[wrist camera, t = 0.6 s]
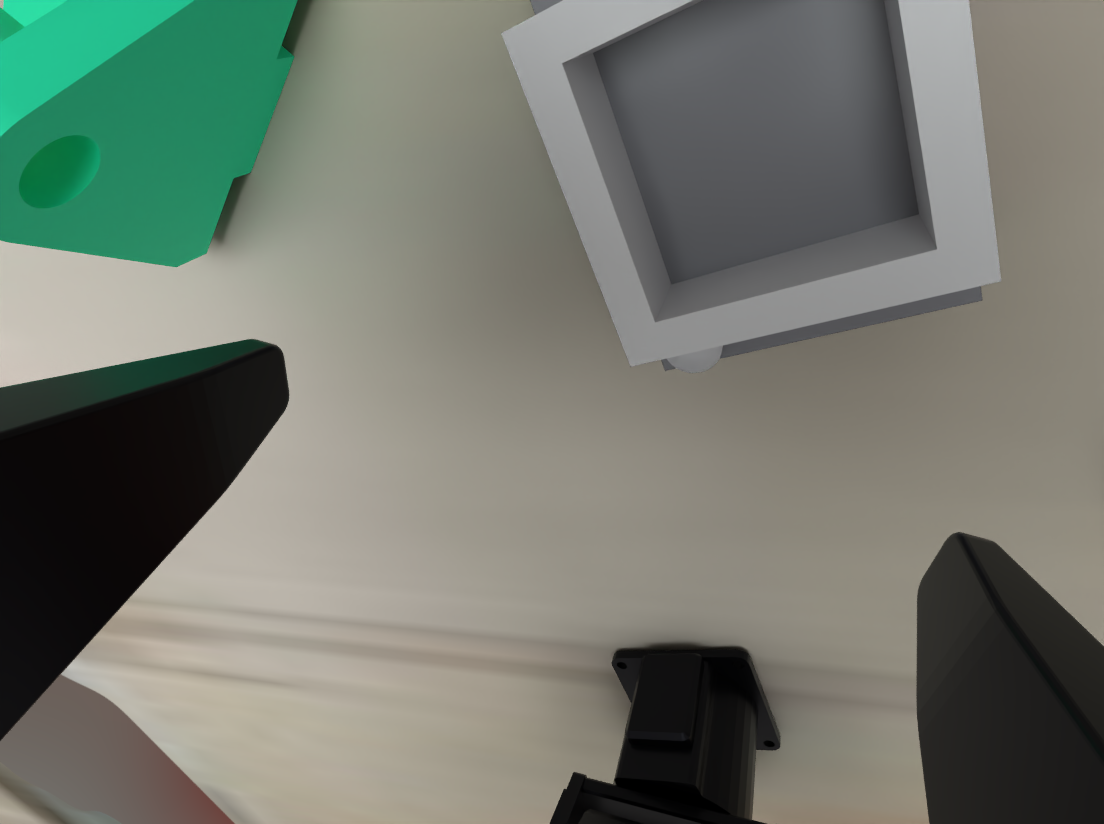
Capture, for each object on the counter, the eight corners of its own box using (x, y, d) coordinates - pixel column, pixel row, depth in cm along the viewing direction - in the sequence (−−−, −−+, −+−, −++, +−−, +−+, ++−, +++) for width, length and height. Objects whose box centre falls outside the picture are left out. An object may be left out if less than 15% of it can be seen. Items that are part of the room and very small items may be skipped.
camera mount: (116, -257, 18) (-461, -460, 10) (340, -56, 19) (-13, -86, 11) (61, 111, 25) (-299, 174, 17) (226, 244, 26) (-39, 364, 18)
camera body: (958, 258, 18) (1008, 346, 14) (680, 327, 22) (649, 415, 17) (888, -230, 14) (930, -332, 9) (553, -40, 17) (469, -48, 13)
